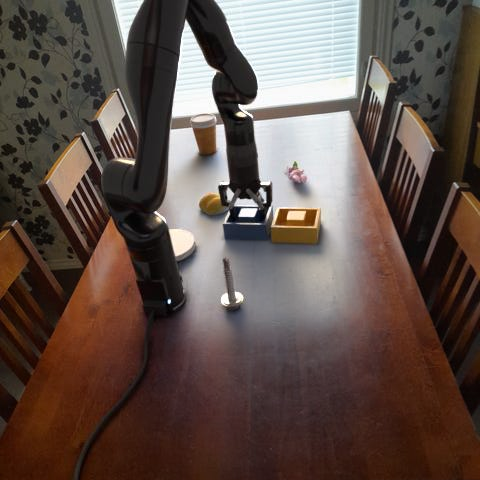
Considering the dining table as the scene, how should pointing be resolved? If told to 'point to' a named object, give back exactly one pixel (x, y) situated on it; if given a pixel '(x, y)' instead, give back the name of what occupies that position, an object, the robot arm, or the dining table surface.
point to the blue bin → (248, 225)
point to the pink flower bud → (296, 173)
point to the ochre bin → (296, 233)
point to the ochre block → (296, 218)
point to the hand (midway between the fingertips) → (248, 219)
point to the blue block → (248, 215)
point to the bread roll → (212, 204)
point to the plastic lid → (182, 243)
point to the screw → (230, 288)
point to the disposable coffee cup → (205, 132)
